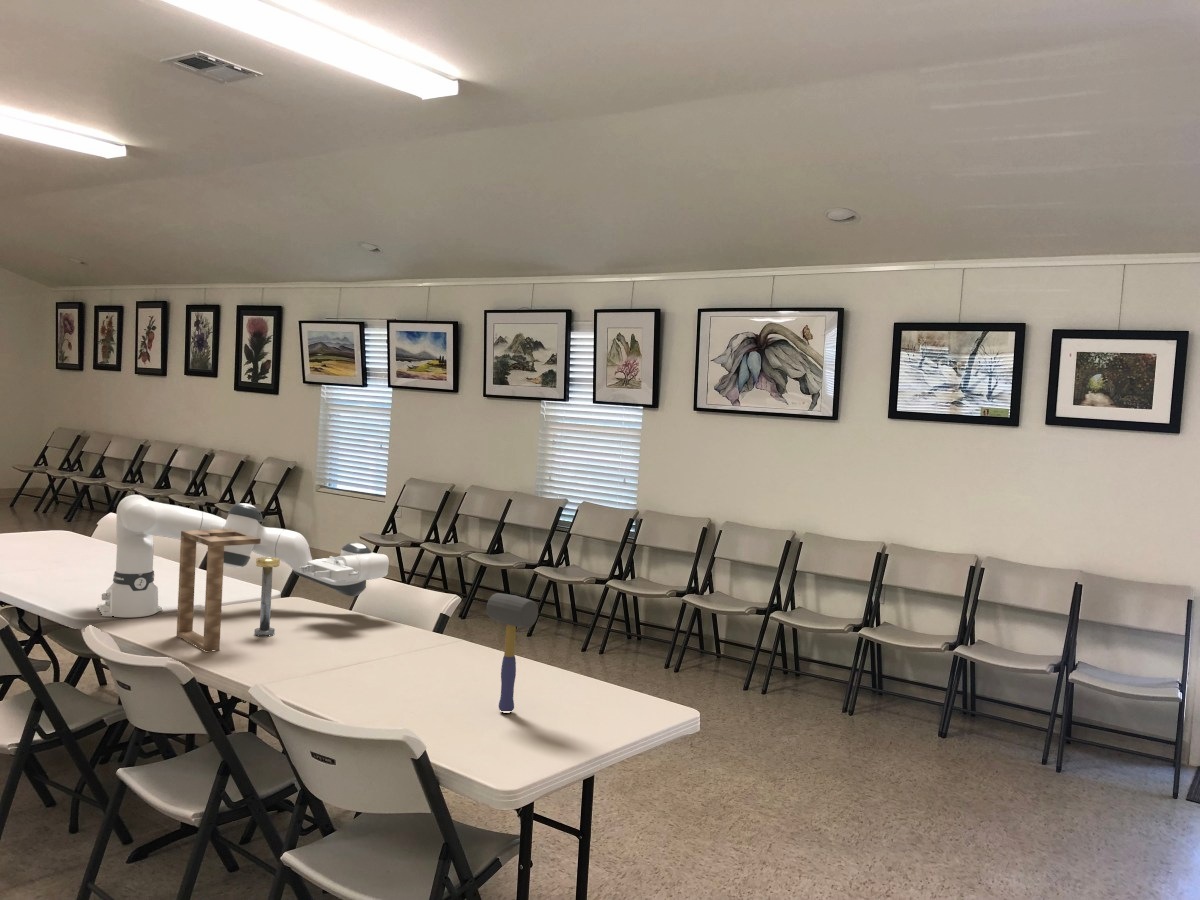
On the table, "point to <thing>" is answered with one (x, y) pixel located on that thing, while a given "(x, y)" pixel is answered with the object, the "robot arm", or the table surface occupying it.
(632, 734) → the table surface
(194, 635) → the keyhole rack
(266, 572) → the hanger bolt
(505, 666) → the rubber mallet
